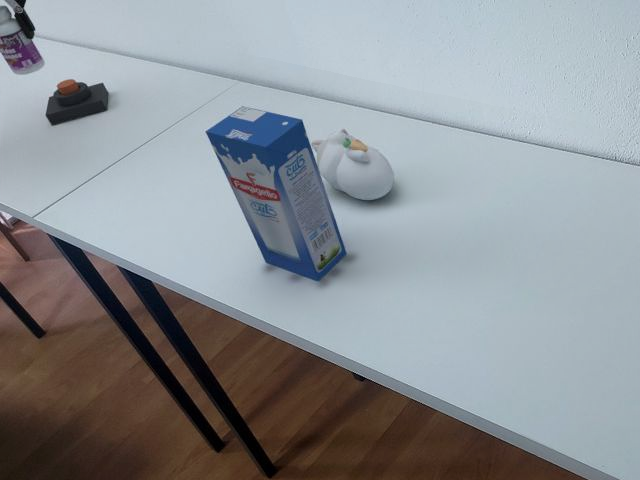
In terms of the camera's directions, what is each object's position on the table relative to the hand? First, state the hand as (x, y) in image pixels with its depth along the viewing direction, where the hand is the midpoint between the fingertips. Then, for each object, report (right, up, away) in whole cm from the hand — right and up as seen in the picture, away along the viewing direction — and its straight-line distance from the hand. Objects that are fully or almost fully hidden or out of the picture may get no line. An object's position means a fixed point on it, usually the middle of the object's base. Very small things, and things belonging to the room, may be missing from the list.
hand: (12, 40), depth 107 cm
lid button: (-4, 0, +22) cm, 22 cm away
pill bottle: (+1, -3, +4) cm, 5 cm away
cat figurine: (+60, -27, -8) cm, 66 cm away
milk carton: (+54, -39, -18) cm, 69 cm away
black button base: (-3, -2, +25) cm, 25 cm away
